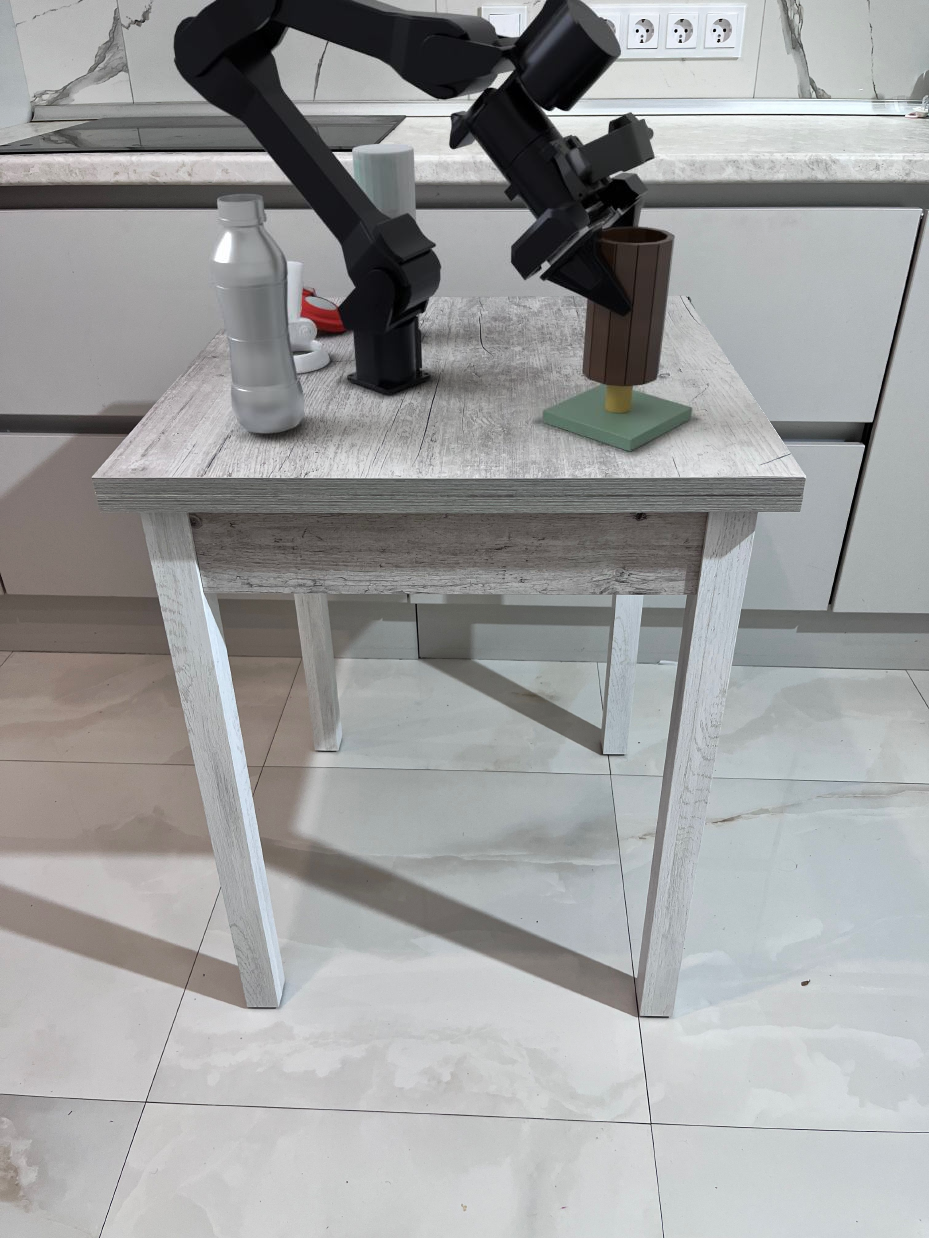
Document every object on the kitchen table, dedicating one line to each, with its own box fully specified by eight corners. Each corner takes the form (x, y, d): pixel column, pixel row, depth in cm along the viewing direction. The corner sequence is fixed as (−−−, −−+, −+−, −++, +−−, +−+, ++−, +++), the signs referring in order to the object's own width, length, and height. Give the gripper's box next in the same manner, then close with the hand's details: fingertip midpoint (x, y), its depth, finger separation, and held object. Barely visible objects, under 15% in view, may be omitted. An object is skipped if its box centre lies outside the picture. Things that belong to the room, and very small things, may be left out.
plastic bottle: (312, 436, 86) (287, 202, 74) (238, 446, 84) (200, 208, 73) (302, 411, 91) (277, 188, 79) (232, 419, 89) (195, 193, 78)
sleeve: (576, 382, 84) (586, 241, 77) (590, 357, 89) (600, 224, 82) (652, 389, 82) (669, 246, 75) (661, 364, 87) (678, 228, 81)
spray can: (354, 340, 109) (339, 150, 97) (388, 325, 113) (377, 142, 102) (398, 350, 106) (388, 154, 94) (431, 334, 110) (426, 146, 99)
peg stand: (630, 451, 82) (635, 395, 79) (542, 422, 88) (544, 368, 85) (690, 419, 88) (698, 365, 85) (605, 393, 94) (609, 342, 91)
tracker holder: (369, 317, 112) (301, 314, 105) (359, 351, 114) (293, 351, 107) (312, 274, 118) (244, 269, 111) (304, 308, 120) (237, 305, 113)
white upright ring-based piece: (329, 290, 107) (338, 267, 100) (323, 393, 107) (332, 377, 100) (263, 280, 105) (267, 255, 98) (256, 385, 104) (260, 367, 98)
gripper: (553, 89, 67) (684, 266, 69) (636, 69, 81) (743, 217, 83) (457, 198, 74) (578, 355, 77) (547, 163, 88) (648, 297, 90)
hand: (641, 301), depth 81 cm, fingers closed on sleeve, 7 cm apart
